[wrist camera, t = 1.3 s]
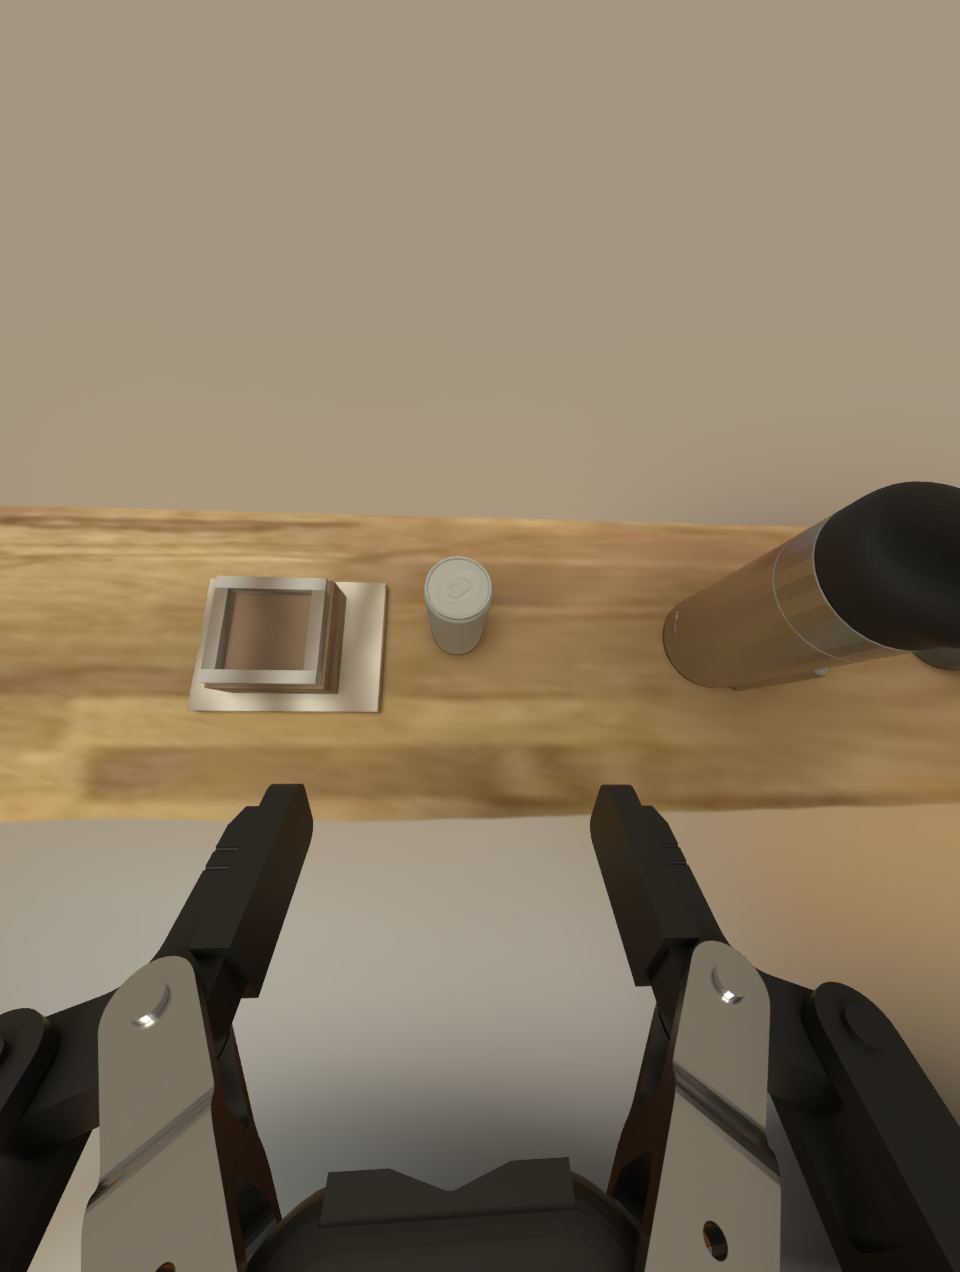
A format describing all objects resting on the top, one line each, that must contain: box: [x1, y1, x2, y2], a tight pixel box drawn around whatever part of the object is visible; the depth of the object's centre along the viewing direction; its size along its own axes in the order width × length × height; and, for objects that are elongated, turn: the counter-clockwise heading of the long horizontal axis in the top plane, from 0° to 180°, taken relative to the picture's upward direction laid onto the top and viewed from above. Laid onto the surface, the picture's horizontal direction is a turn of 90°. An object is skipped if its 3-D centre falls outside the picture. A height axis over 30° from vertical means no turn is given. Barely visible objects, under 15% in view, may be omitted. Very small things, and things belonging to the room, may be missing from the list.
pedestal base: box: [187, 576, 388, 713], centre depth 34 cm, size 16×12×7 cm
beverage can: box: [424, 556, 492, 654], centre depth 33 cm, size 5×5×12 cm
